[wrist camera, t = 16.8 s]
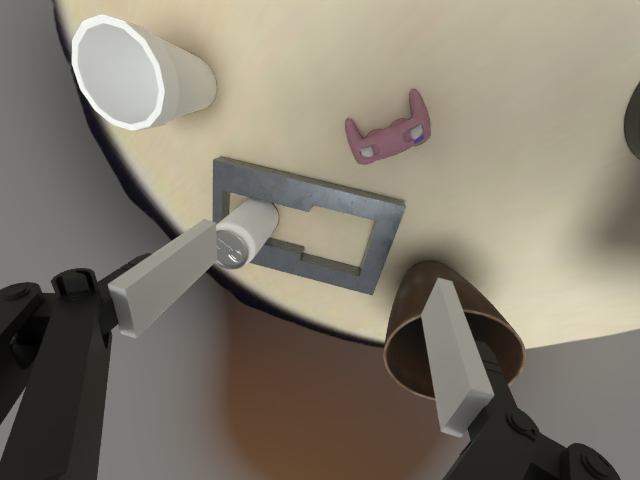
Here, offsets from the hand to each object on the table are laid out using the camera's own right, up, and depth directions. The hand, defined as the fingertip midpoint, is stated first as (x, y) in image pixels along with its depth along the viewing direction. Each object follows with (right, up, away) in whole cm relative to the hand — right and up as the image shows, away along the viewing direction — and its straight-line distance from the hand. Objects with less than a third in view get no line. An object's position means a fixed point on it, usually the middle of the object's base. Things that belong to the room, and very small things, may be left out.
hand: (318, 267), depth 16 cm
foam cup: (-17, +23, +22) cm, 36 cm away
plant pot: (+18, -5, +30) cm, 35 cm away
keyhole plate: (-3, +4, +29) cm, 29 cm away
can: (-10, +6, +29) cm, 31 cm away
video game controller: (+9, +17, +20) cm, 28 cm away
